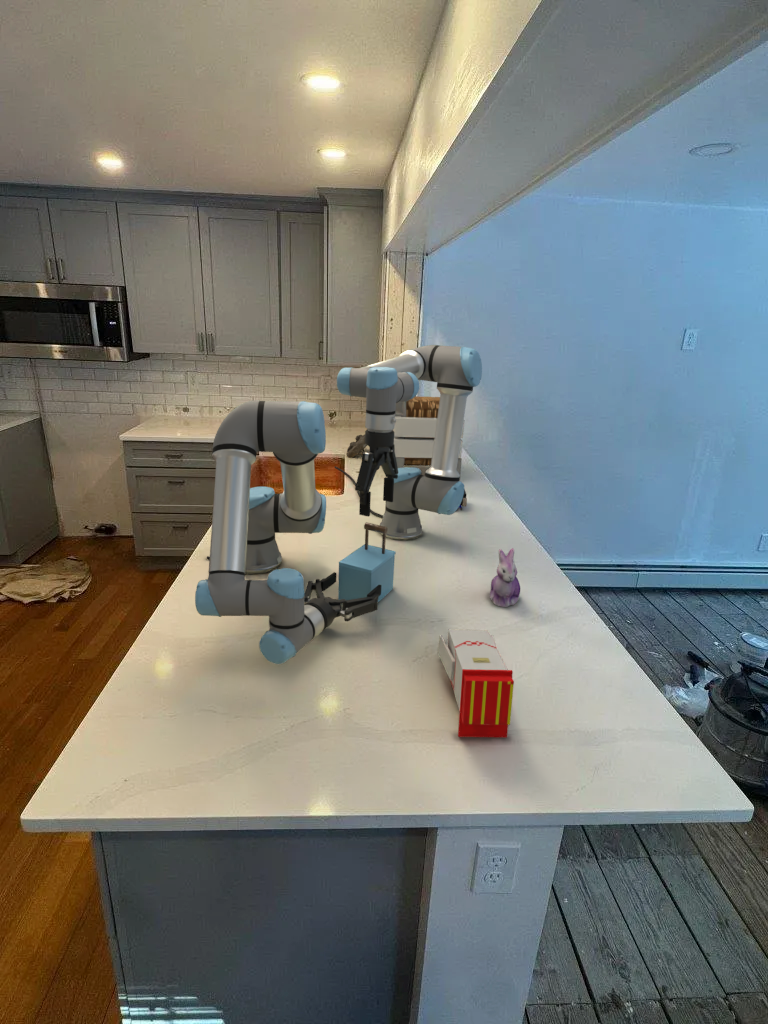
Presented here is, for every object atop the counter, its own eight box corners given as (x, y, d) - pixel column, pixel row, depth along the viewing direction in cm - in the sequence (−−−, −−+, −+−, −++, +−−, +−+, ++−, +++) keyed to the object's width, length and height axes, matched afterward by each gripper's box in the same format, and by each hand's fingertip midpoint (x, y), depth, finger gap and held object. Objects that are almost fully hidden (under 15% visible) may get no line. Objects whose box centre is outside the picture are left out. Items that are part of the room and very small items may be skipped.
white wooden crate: (382, 463, 289) (386, 382, 275) (445, 464, 293) (451, 384, 279) (390, 482, 257) (394, 392, 243) (460, 483, 261) (468, 394, 247)
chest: (362, 580, 165) (363, 547, 161) (393, 589, 161) (394, 554, 157) (338, 600, 153) (338, 565, 149) (369, 610, 149) (371, 573, 145)
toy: (488, 613, 130) (523, 677, 101) (484, 667, 133) (517, 744, 104) (435, 612, 130) (455, 676, 101) (432, 666, 133) (451, 743, 103)
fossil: (346, 440, 316) (367, 425, 311) (357, 453, 319) (378, 438, 314) (340, 453, 296) (362, 438, 291) (351, 468, 299) (374, 452, 294)
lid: (364, 546, 161) (365, 517, 158) (395, 554, 157) (397, 524, 154) (338, 564, 149) (339, 533, 146) (371, 573, 145) (372, 541, 142)
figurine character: (467, 515, 225) (461, 499, 238) (469, 498, 221) (463, 482, 235) (450, 514, 224) (445, 498, 238) (452, 497, 221) (447, 482, 234)
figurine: (502, 611, 151) (509, 560, 146) (479, 594, 159) (485, 545, 154) (530, 604, 155) (537, 554, 150) (506, 588, 163) (512, 540, 158)
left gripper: (269, 618, 138) (317, 584, 156) (358, 648, 128) (399, 607, 146) (268, 591, 136) (317, 559, 153) (359, 619, 125) (400, 581, 143)
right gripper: (369, 440, 133) (366, 524, 140) (413, 424, 154) (408, 498, 161) (342, 436, 136) (340, 518, 143) (388, 420, 157) (385, 493, 164)
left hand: (357, 583), depth 150 cm, fingers open, 13 cm apart
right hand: (376, 508), depth 152 cm, fingers open, 13 cm apart
